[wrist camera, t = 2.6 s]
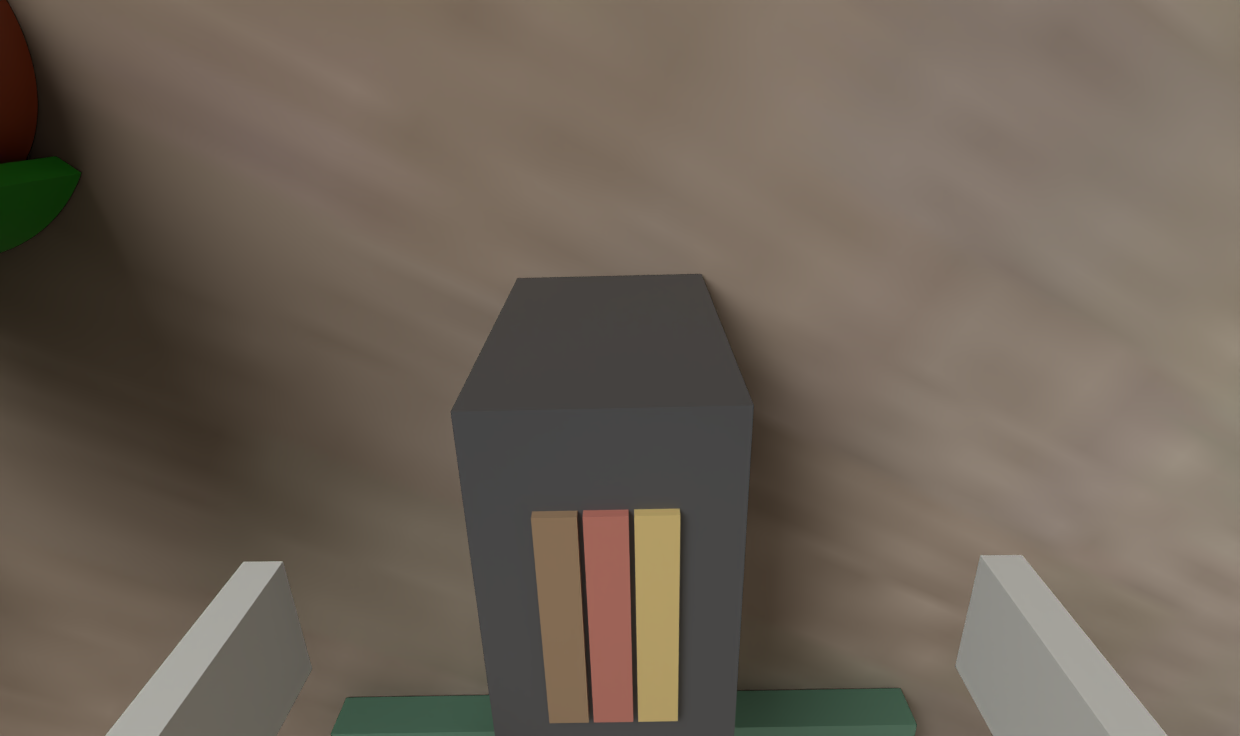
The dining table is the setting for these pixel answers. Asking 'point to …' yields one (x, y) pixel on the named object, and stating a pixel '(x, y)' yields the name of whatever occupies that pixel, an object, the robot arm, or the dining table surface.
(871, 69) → the dining table surface
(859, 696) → the header board
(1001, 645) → the robot arm
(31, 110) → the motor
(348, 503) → the dining table surface
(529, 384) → the plug housing
